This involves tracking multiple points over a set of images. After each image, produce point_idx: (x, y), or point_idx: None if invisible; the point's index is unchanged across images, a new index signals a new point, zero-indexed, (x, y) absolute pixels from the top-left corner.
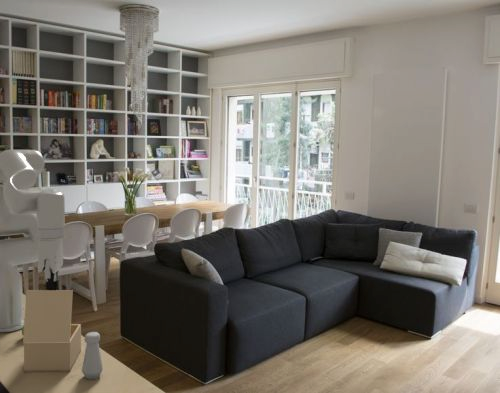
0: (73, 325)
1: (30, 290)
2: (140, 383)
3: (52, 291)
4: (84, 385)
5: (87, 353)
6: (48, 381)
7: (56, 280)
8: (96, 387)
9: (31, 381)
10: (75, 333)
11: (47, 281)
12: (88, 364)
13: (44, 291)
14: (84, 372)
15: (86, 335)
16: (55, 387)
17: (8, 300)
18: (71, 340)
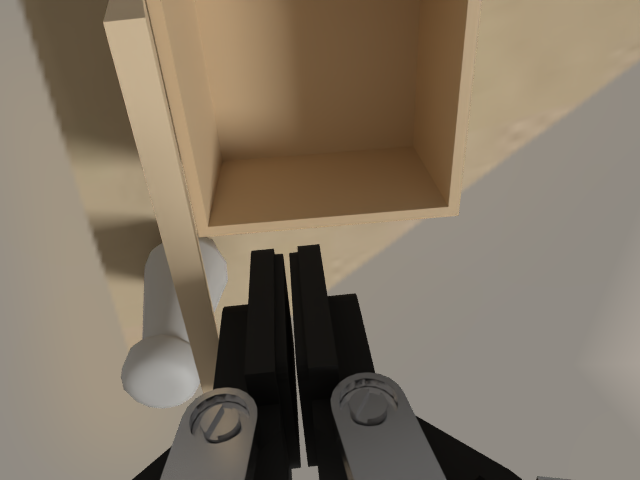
0: (450, 178)
1: (124, 98)
2: None
3: (196, 361)
4: (119, 247)
5: (145, 313)
6: (115, 106)
7: (317, 463)
8: (115, 286)
9: (96, 26)
10: (323, 226)
11: (201, 414)
12: (144, 290)
13: (174, 285)
14: (149, 255)
15: (137, 369)
16: (75, 152)
17: None
18: (230, 234)
